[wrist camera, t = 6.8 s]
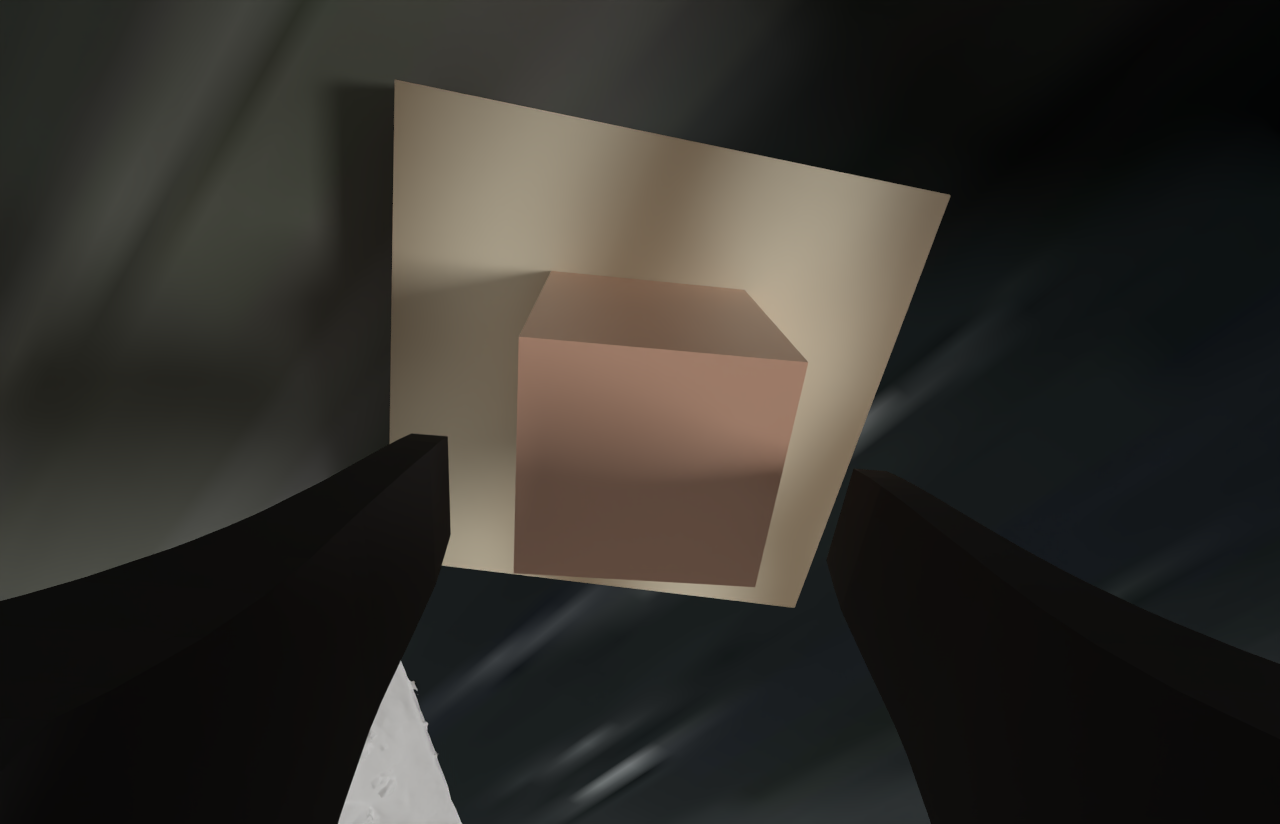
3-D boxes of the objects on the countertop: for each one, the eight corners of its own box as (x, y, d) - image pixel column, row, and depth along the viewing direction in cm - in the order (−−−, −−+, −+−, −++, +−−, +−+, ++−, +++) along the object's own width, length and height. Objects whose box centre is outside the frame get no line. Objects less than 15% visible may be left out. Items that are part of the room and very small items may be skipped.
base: (906, 188, 15) (950, 194, 13) (776, 560, 20) (794, 607, 18) (426, 88, 14) (394, 79, 12) (412, 514, 19) (387, 558, 17)
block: (744, 289, 14) (808, 362, 9) (714, 458, 16) (754, 587, 11) (551, 270, 13) (518, 336, 9) (543, 445, 15) (513, 573, 11)
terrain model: (-206, 648, 22) (-428, 780, 18) (362, 544, 20) (277, 663, 15) (62, 895, 29) (-48, 1038, 24) (511, 838, 27) (483, 983, 22)
